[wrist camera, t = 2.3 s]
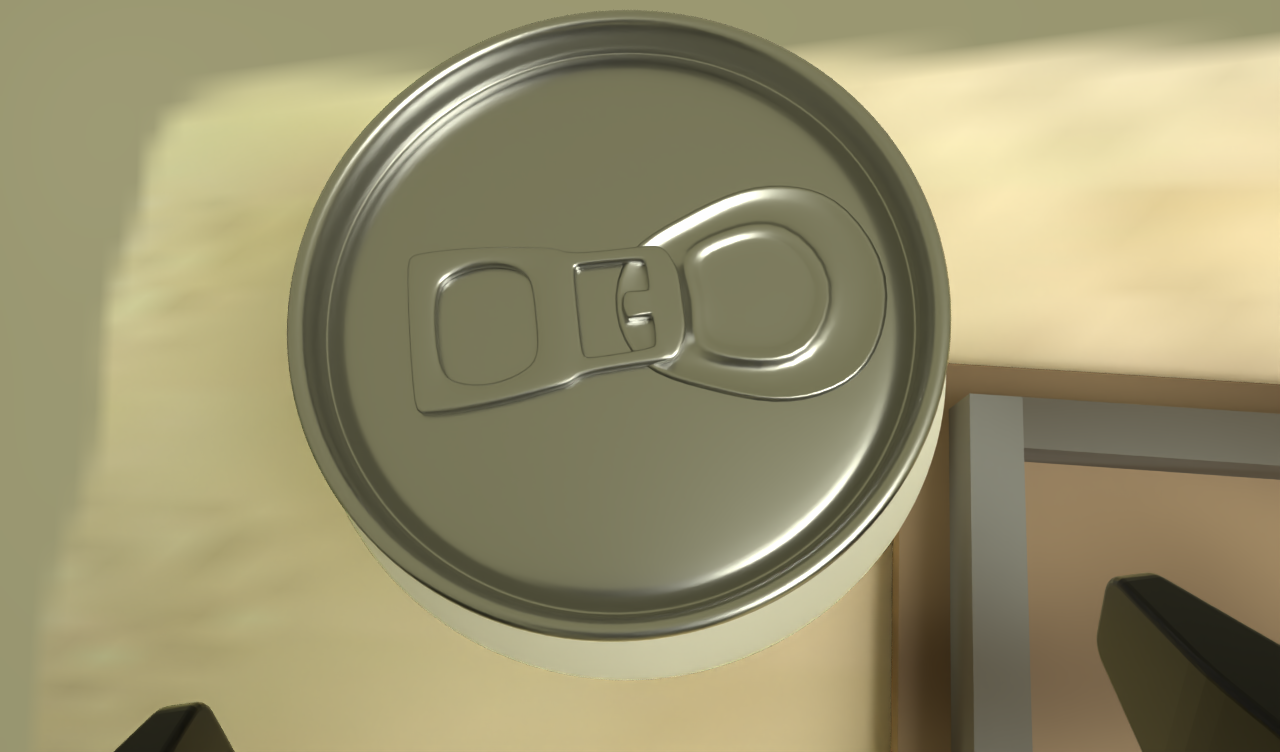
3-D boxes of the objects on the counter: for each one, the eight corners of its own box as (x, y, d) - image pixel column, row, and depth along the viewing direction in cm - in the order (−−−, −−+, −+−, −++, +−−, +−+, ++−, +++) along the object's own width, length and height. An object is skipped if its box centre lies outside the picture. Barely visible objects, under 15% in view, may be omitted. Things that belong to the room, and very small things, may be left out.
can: (832, 623, 18) (1095, 648, 7) (520, 662, 18) (232, 751, 7) (782, 326, 20) (920, -77, 8) (496, 362, 20) (235, 17, 8)
